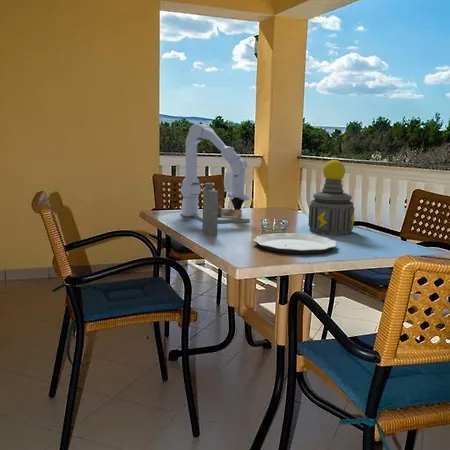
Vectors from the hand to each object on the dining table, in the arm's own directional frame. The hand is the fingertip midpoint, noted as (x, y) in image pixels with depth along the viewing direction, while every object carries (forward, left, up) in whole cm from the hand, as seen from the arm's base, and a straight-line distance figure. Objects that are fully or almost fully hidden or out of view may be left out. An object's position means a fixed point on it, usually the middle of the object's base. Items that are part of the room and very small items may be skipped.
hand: (237, 214), depth 241 cm
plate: (+59, 0, -3) cm, 59 cm away
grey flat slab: (-4, -7, -3) cm, 8 cm away
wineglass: (-21, +4, -3) cm, 22 cm away
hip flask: (+27, -22, -3) cm, 35 cm away
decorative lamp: (+34, +29, -3) cm, 45 cm away
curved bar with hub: (-3, -6, -1) cm, 7 cm away
